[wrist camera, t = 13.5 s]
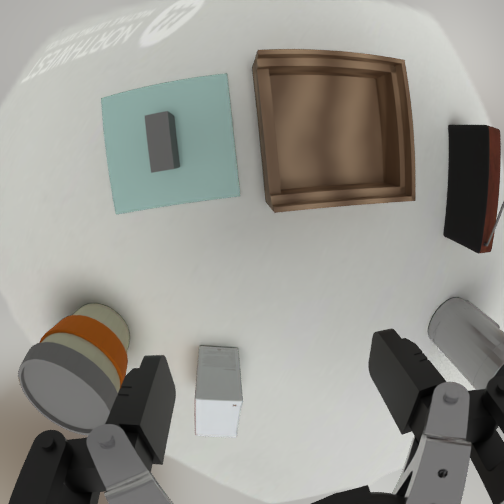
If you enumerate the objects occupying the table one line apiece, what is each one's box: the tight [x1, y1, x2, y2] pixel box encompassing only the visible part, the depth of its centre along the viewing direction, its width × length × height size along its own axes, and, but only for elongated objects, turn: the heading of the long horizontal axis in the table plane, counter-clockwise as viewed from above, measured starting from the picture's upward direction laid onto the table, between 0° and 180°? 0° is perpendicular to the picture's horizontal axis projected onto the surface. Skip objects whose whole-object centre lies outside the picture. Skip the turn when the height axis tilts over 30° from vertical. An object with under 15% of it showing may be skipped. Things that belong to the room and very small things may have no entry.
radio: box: [444, 125, 504, 253], centre depth 28 cm, size 19×3×15 cm, turn 3°
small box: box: [195, 346, 243, 438], centre depth 37 cm, size 8×6×10 cm
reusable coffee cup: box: [18, 303, 130, 435], centre depth 31 cm, size 12×13×15 cm
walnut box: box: [252, 49, 415, 213], centre depth 29 cm, size 16×16×6 cm
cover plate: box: [101, 74, 240, 214], centre depth 29 cm, size 15×14×5 cm
